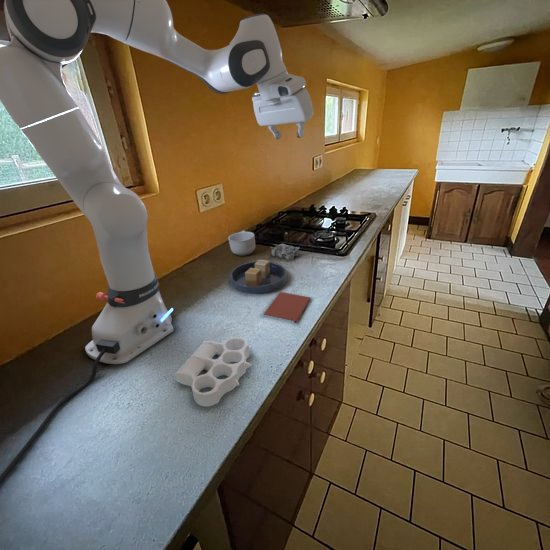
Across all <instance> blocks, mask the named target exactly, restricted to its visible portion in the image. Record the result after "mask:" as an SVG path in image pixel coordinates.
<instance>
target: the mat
mask: <svg viewBox="0 0 550 550" xmlns="http://www.w3.org/2000/svg"><path fill="white" fill-rule="evenodd" d="M310 300H311V297H310V296H304V295H299V294H298V295H297V294H293V293H288V292H283V291H280V292H279V293H278V295H276V297H275V299H274V300H273V301H272V302H271V303H270V304H269V306H268V308H266V310H265V311H264V312H263V315H266V316H270V317H274V318H277V319H283V320H288V321H292V322H294V323H296V324H297V323H298V321H299V320H300V318H301V316H302V314H303V313H304V311H305V309H306V307H307V306H308V304H309V302H310Z"/></svg>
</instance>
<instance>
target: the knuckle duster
mask: <svg viewBox="0 0 550 550" xmlns="http://www.w3.org/2000/svg"><path fill="white" fill-rule="evenodd" d="M215 355H216V356H218V358H215V359H214V356H215ZM249 357H250V346H249V341H247V340H246V339H245V338H243V337H231V338H229V339H227V340H225V341H223V342H216V341H212V340H205V341H202V342H201V345H200V346H199V347H198V348H197V349H196V350H195V351H194V352H193V354H191V355H190V356H188V359H187V360H186V361H185V362H183V363H184V364H182V366H180V368H179V369H178V370H177V371H175V372H174V373H173V379H174V380H175V381H176V382H178V383H179V384H182V385H184V386H188V387H191V391H192V396H193V400H194V401H195V403H196V404H197V405H199V406H200V407H208V408H209V407H212V406H216V405H217V404H218V403H220V400H221V399H222V397H223V396H224V395H225V394H227V393H229V392H231V391H233V390H234V389H235V388H236V387H237V386H238V387H239V386H241V384H240V382H239V380H240V378H241V377H243V376H244V375H245V374H246V371H247V369H248V368H251V367H252V366H253V365H252V364H251V363H249V362H247V360H248V358H249ZM203 370H205V371H207V372H206V373H203V374H201V372H203ZM221 376H227V377H226V378H223V379H221V378H220V379H219V377H221ZM205 388H210V389H211V390H210V391H207V392H201V390H202V389H205Z"/></svg>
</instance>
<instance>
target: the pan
mask: <svg viewBox="0 0 550 550" xmlns="http://www.w3.org/2000/svg"><path fill="white" fill-rule="evenodd" d="M257 261H258V260H256V261H250V262H249V261H248V262H245V263H242V264H239V265H238V266H235V267H234V268H233V269H232V270H231V271H230V273H229V281H230V285H231V287H232V288H233V289H234V290H236V291H238V292H241V293H244V294H250V295H261V294H268V293H271V292H274V291H277V290H279V289H280V288H282V287H283V286H284V285H285V284H286V283H287V278H288V277H287V271H286V270H287V269H286V268H285V267H284V266H283V265H281V264H279V263H276V262H274V261H269V262H270V274H269V275H268V276H267V277H266V278H262V283H261V284H260V285H259V286H247V285H246V278H245V272H246V271H247V270H248V269H250V268H255V265H254V264H255V263H256V262H257Z"/></svg>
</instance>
